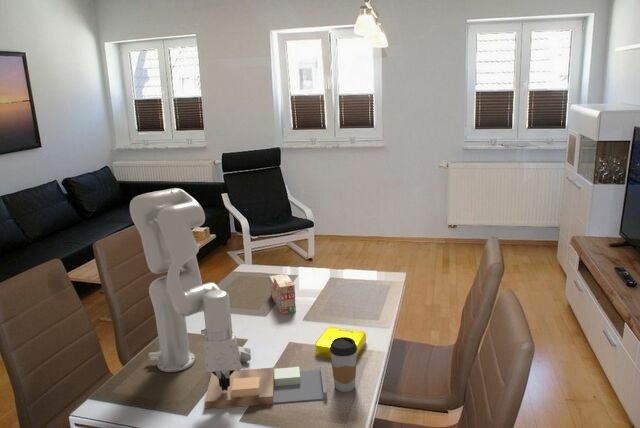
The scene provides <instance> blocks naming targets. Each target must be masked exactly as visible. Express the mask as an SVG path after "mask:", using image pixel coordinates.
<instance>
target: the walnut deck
mask: <svg viewBox="0 0 640 428" xmlns="http://www.w3.org/2000/svg"><path fill="white" fill-rule="evenodd" d="M274 369H275V367H264V368H252V369H251V368H250V369H241V370H238V371H234V372H233V373H232V374H231V375H230V376H229V377H230V386H228V390H227V391H226V390H224V391H222V387H220V386H219V379H218V378H217V376H215V375H214V374H213V373H210V374H211V375H210V378H209V383H208V387H207V390H206V395H205V399H204V409H205V410H208V409H209V410H211V409H213V410H214V409H222V408H223V409H224V408H225V409H226V408H234V407H246V406H248V407H249V406H260V405H274V404H273V397H274ZM225 372H226V371H222V373H224V375H225ZM250 377H260V394H259V395H257V396H245V397H232V385H233V379H237V378H250Z"/></svg>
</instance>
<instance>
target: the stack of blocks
mask: <svg viewBox="0 0 640 428" xmlns="http://www.w3.org/2000/svg"><path fill="white" fill-rule="evenodd" d="M268 280H269V286H270V295H271V297H272V300H273V301H274V303H275V305H276V306H277V308H278V310H279V312H280V314H281V315H284V314H285V315H286V314H289V313H290V314H291V313H296V312H297V310H296V309H297V308H296V307H297V306H296V289H295V288H296V286H295V284H294V282H293V280H292V278H290V276H288V274H283V273H282V274H275V275H269V278H268Z"/></svg>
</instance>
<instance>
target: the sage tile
mask: <svg viewBox="0 0 640 428" xmlns="http://www.w3.org/2000/svg"><path fill="white" fill-rule="evenodd" d="M300 371H301V370H300V366H291V367H279V368H274V380H275V386H283V385H294V384H301V383H300Z"/></svg>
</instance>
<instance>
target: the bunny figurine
mask: <svg viewBox="0 0 640 428" xmlns="http://www.w3.org/2000/svg"><path fill="white" fill-rule="evenodd" d="M238 348H239V355H240V364H241V365H242V363H244V362H250V361H251V360H252V355H251V354H252V353H251V348H249V347H243V346H239V345H238Z"/></svg>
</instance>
